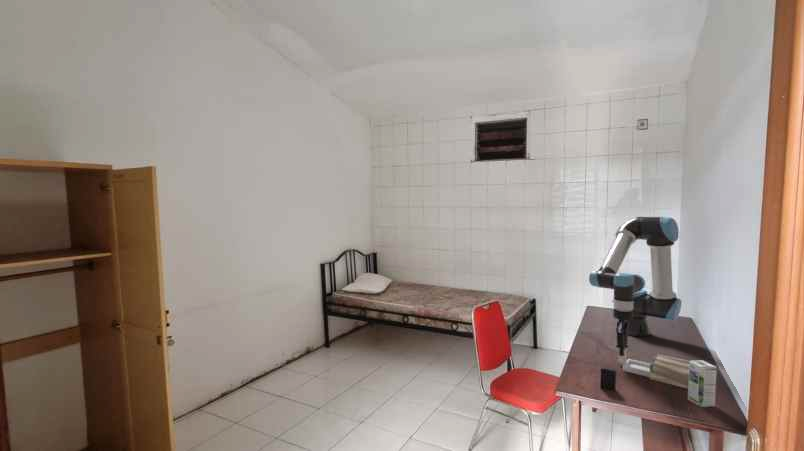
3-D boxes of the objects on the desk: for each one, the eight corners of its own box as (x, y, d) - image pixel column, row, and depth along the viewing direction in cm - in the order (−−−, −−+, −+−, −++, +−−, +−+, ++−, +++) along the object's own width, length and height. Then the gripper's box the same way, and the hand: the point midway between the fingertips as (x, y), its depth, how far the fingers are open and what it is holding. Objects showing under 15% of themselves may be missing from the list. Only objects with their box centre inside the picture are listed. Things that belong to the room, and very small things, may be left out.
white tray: (628, 363, 172) (628, 358, 172) (665, 372, 163) (666, 367, 163) (622, 371, 165) (622, 365, 165) (661, 381, 155) (662, 375, 155)
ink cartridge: (615, 389, 148) (616, 369, 148) (614, 391, 147) (615, 371, 146) (601, 385, 151) (602, 365, 151) (600, 387, 150) (601, 367, 149)
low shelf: (655, 366, 168) (656, 353, 168) (696, 375, 159) (696, 362, 159) (649, 379, 156) (650, 365, 156) (692, 389, 147) (693, 375, 147)
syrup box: (686, 399, 140) (688, 360, 139) (702, 398, 141) (703, 359, 140) (700, 407, 135) (701, 367, 134) (716, 406, 135) (717, 366, 134)
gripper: (617, 304, 176) (616, 355, 177) (609, 310, 166) (608, 364, 167) (636, 307, 171) (634, 359, 172) (629, 314, 161) (628, 369, 162)
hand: (621, 362), depth 170 cm, fingers closed
